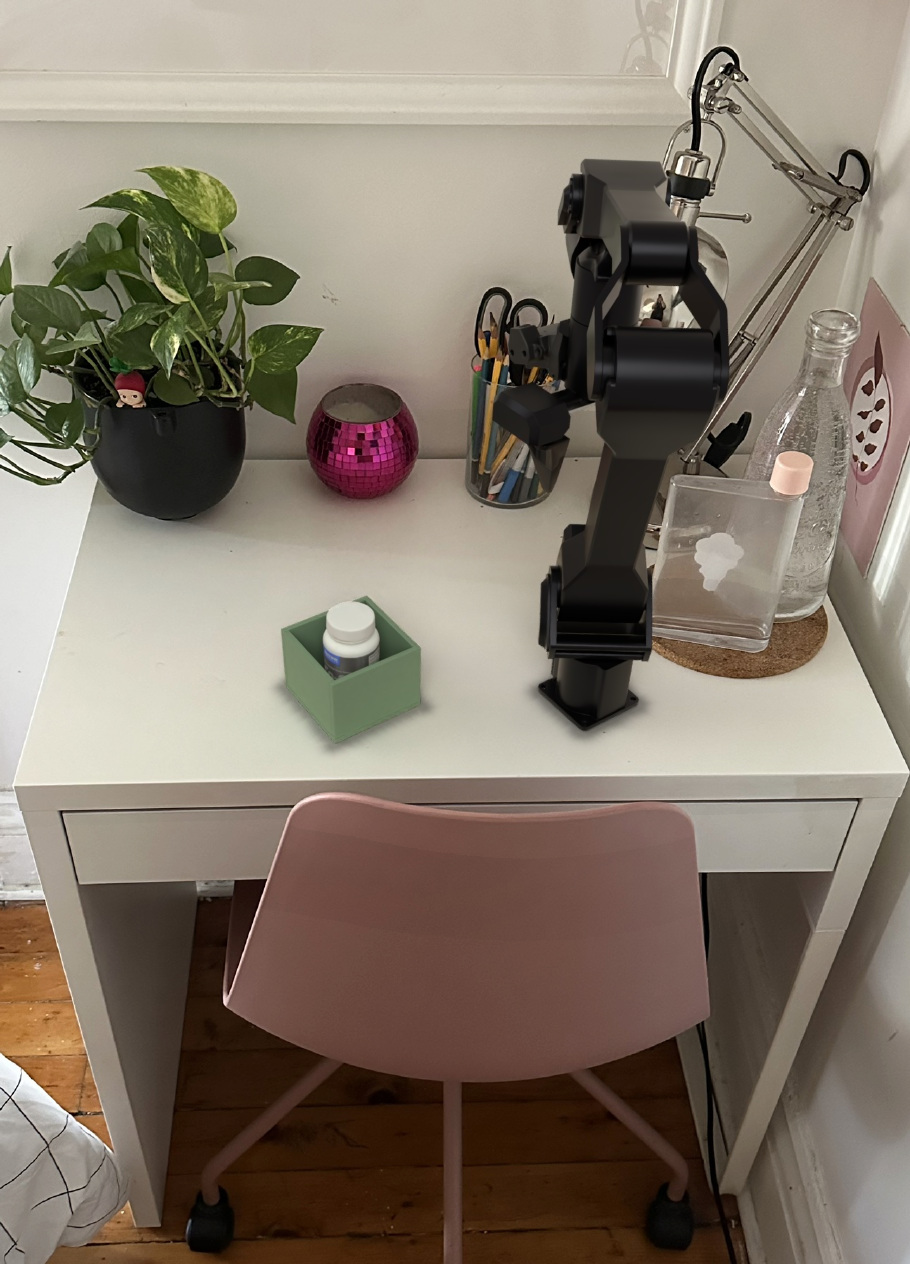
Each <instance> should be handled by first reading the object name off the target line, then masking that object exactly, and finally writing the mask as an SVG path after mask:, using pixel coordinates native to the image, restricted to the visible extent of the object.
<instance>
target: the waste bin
mask: <svg viewBox="0 0 910 1264" xmlns="http://www.w3.org/2000/svg"><path fill="white" fill-rule="evenodd" d="M350 602H359V603H363V604H365V605H367V606H369V607H370V608H371V609H372V610H373V612H374V614H375V628H376V629H377V631H378V634H379V638H380V642H379V643H380V645H379V646H380V657H379V658H380V661H379V662H377V663H374V664H372V665H369V666H367V667H365V668H362V669H360V670H358V671H355V672H353V673H351V674H348V675H346V676H344V677H341V678H339V679H337V680H334V679H333V678H332V677H331V676H330V675H329V674H328V673H327V672H326V671H325V670H324V653H323V635H324V632H325V630H326V629H327V628H326V616H327V613H328V611H329V610H330V609H328V610H326V611H323V612H320V613H318V614H316V615H313V616H311V617H308V618H305V619H303V620H300V621H298V622H295V623H292V624H290V625H287V626H285V627H282V628H281V629H280V634H281V646H282V647H281V648H282V657H283V658H282V659H283V668H284V670H283V671H284V681H285V687H286V688H287V689H288V690H289V692H290V693H291V694H292V696H293V697H294V698H295V699H296V700H297V701H298V702H299V703H300V704H301V706H302V707H303V708H304V709H305V710H306V711H307V713H308V714H309V715H310V716H311V717H312V718H313V720H314V721H315V722H316V723H317V724H318V726H319V727H320V728H321V729H322V730H323V731H324V732H325V734H326V735H328V737H329V738H330V740H332V742H333V743H334V744H338V743H340V742H342V741H344V740H347V739H349V738H351V737H353V736H356V735H358V734H360V733H362V732H365V731H366V730H369V729H371V728H373V727H375V726H378V725H379V724H382V723H384V722H386V721H388V720H390V719H392V718H395V717H397V716H400V715H402V714H404V713H406V712H408V711H410V710H412V709H415V708H417V707H419V706H421V680H422V679H421V675H422V672H421V671H422V648H421V646H420V645H419V644H418V643H416V641H414V639H412V637H410V636H409V635H408V633H406V631H404V630H403V629H402V628H401V626H399V625H398V624H397V622H395V621H394V620H393V619H392V618H391V617H390V616H389V615H388V614H387V613H386V612H385V611H384V610H383V609H382V608H381V607H380V606H378V604H376V602H375V601H374V600H372V599H371V598H370V596H368V595H363V596H361V597H359V598H357V599H354V600H351V601H350Z"/></svg>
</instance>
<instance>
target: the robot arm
mask: <svg viewBox="0 0 910 1264" xmlns="http://www.w3.org/2000/svg"><path fill="white" fill-rule="evenodd" d="M579 166H580V167H579V168H580V170H579V172H580V173H571V175H570V177H569V180H568V184H567V185H566V186H565V187H564V188H563V190H562V193H561V196H560V201H559V205H558V209H557V226H562V231H563V234H565V247H566V252H567V257H568V263H569V269H570V273H571V275H572V278H573V288H572V298H571V309H570V316H569V317H570V318H566V319H563V320H560V321H559V322H555V323H550V324H547V325H543V326H540V327H538V326H537V325H536V324H531V325H528V324H522V325H518V326H514V327H510V329H509V336H508V343H507V348H508V355H509V359H510V361H511V362H512V363H513V364H514V365H525V369H528V370H533V369H534V368H539V369H548V377H549V378H551V379H552V380H554V381H555V382H559V381H562V382H563V383H564V384H563V387H564V388H563V389H561V390H558V391H555V392H552V393H551V392H549V391H548V390H546V389H545V388H543V387H542V386H540V385H539V384H537V383H536V382H534V381H530V382H527V383H524V384H521V385H517V386H514V387H511V388H508V389H504V390H502V391H500V392H499V393H497V394H496V395H495V396H494V398H493V402H492V417H491V419H492V421H493V422H495V423H496V424H497V425H499V426H500V427H502V428H503V429H504V430H506V431H507V432H508V433H510V434H511V435H512V436H514V437H515V438H517V439H518V440H520V441H521V442H522V443H524V444H525V445H526V446H527V448H528V450H529V452H530V455H531V459H532V462H533V466H534V468H535V472H536V474H537V478H538V481H539V484H540V487H541V489H542V490H544V491H545V492H546V493H548V494H549V493H552V492H553V491H554V488H555V486H556V484H557V481H558V479H559V475H560V472H561V469H562V466H563V464H564V460H565V457H566V454H567V451H568V448H569V445H570V442H571V438H570V437H569V436H567V435H566V434H567V432H568V431H569V430H570V427H571V418H572V416H571V414H574V413H577V412H579V411H584V410H586V409H589V408H592V407H595V423H596V433H597V435H598V436H599V437H600V439H602V441H603V446H602V451H601V456H600V460H599V465H598V468H597V472H596V478H595V482H594V486H593V491H592V494H591V499H590V504H589V508H588V513H587V517H586V522H585V523H569V524H567V526H565V528H564V529H563V533H562V539H561V544H560V547H559V550H558V553H557V557H556V562H555V565H549V566H548V571H547V573H545V578H544V579H543V580H542V581H541V582H540V588H539V589H540V591H539V618H538V619H539V620H538V621H539V622H538V632H537V633H538V634H537V644H538V645H539V646H540V647H542V648H543V649H544V650H545V653H546V655H547V660H551V669H550V676H552V677H551V678H549V679H547V680H544V681H542V682H541V683H539V684H538V685H537V691H538V693H540V695H542V696H543V697H544V698H545V699H546V700H547V701H548V702H549V703H551V704H552V705H553V706H554V707H555V708H556V709H557V710H558V711H559V712H560V713H561V714H562V715H563V716H565V717H566V718H567V719H568V721H570V722H571V723H573V725H575V726H576V727H577V728H578V729H579V730H581V731H582V732H586V731H589V730H591V729H593V728H596V727H598V726H599V725H601V724H603V723H605V722H607V721H609V720H611V719H613V718H614V717H617V716H618V715H621V714H623V713H625V712H627V711H629V710H630V709H633V708H634V707H636V706H638V705H639V701H640V698H639V697H638V695H636V694H635V693H634V692H633V691H631V690H630V689H629V687H630V681H631V675H632V670H633V665H634V664H633V663H634V661H641V662H644V663H645V662H646V663H647V662H649V660H650V658H651V654H652V652H653V597H654V596H653V595H654V594H653V591H654V590H653V588H654V586H653V582H654V581H653V573H652V569H651V568H649V567H648V566H647V554H646V553H647V551H646V545H645V543H644V540H645V537H646V534H647V531H648V527H649V524H650V522H651V521H650V520H651V518H652V514H653V512H654V509H655V505H656V503H657V498H658V496H659V492H660V490H661V486H662V482H663V480H664V477H665V473H666V470H667V467H668V464H669V461H670V457H671V455H673V454H674V453H677V451H679V450H682V449H683V448H685V447H686V446H688V445H690V444H692V443H693V442H695V441H697V440H699V439H700V438H701V437H702V436H703V435H704V433H705V431H706V429H707V427H708V426H709V423H710V421H711V419H712V417H713V415H714V413H715V410H716V408H717V405H722V403H724V401H725V399H726V396H727V392H728V388H729V381H730V365H731V364H730V362H731V361H730V341H729V340H730V338H729V337H730V336H729V316H728V315H729V314H728V307H727V303H726V302H725V301H724V299H723V298H722V296H721V295H720V294H719V293H720V292H718V290H717V289H716V287H715V286H714V284H713V283H712V281H711V279H710V278H709V277H708V275H707V274H706V272H705V270H704V269H703V268H702V266H701V265H700V262H699V261H700V260H699V238H698V237H699V236H698V230H697V227H696V226H695V225H688V224H687V222H686V221H684V220H680V219H679V217H678V216H677V215H676V214H675V213H674V211H673V210H672V209H671V203H672V180H671V177H670V176H668V175H667V172H666V170H665V168H664V165H663V163H662V162H661V161H659V160H658V161H656V160H633V159H632V160H631V159H608V158H607V159H605V158H601V159H600V158H584V159H583V160H582V161H581V162H580V165H579ZM645 286H653V287H655V286H656V287H678V293H679V297H680V299H681V300H682V302H683V303H684V305H685V306H686V308H687V310H688V311H689V313H690V314H691V316H692V317H693V318H694V320H695V322H696V323H697V325H698V326H699V327H673V326H671V327H669V326H639V321H640V314H641V307H642V300H643V293H644V287H645Z"/></svg>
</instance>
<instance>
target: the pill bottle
mask: <svg viewBox="0 0 910 1264" xmlns="http://www.w3.org/2000/svg"><path fill="white" fill-rule="evenodd" d="M328 610H329V611H328ZM328 610H327V611H328V613H327V616H326V628H327V629H326V630H325V632H324V635H323V653H324V670H325V671H326V672H327V673H328V674H329V675H330V676H331V677H332V678H333V679H334V680H337V679H339V678H341V677H344V676H346V675H348V674H351V673H353V672H355V671H358V670H360V669H362V668H365V667H367V666H369V665H372V664H374V663H377V662H379V661H380V658H379V657H380V646H379V645H380V643H379V642H380V638H379V634H378V631H377V629H376V628H375V614H374V612H373V610H372V609H371V608H370V607H369V606H367V605H365V604H363V603H359V602H351V601H343V602H339V603H336V604H335V605H333V606H332V607H331V608H329V609H328Z"/></svg>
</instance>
